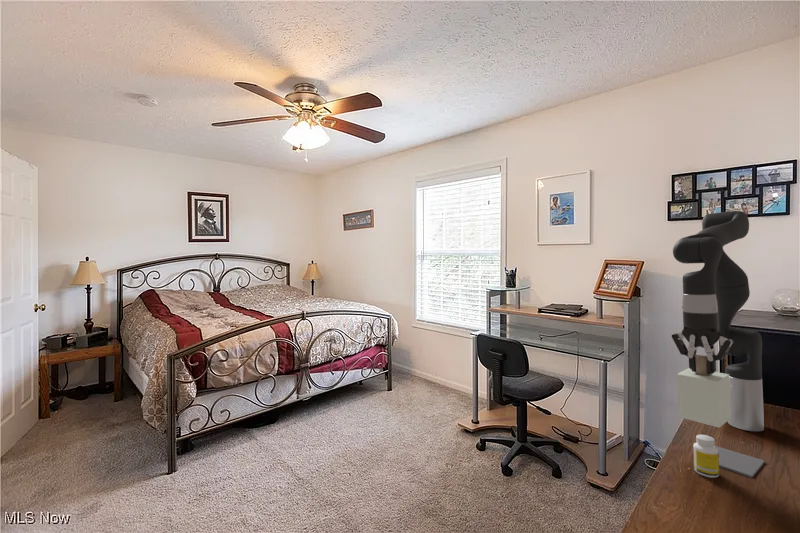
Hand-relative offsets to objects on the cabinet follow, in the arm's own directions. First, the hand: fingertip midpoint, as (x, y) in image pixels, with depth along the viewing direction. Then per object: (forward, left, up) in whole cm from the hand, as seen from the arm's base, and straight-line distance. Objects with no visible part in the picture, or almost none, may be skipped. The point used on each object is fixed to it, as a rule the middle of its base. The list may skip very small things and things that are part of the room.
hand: (702, 372), depth 102 cm
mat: (-12, +2, -28) cm, 30 cm away
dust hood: (0, 0, -13) cm, 13 cm away
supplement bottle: (0, 0, -28) cm, 28 cm away
